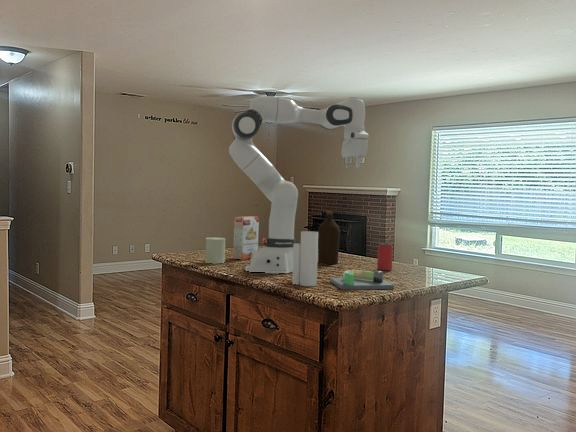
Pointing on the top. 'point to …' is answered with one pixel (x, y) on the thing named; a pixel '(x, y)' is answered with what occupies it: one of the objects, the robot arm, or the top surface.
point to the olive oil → (328, 241)
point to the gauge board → (358, 283)
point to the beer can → (385, 256)
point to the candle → (305, 259)
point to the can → (215, 250)
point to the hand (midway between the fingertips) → (353, 167)
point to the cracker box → (245, 237)
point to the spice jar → (368, 275)
